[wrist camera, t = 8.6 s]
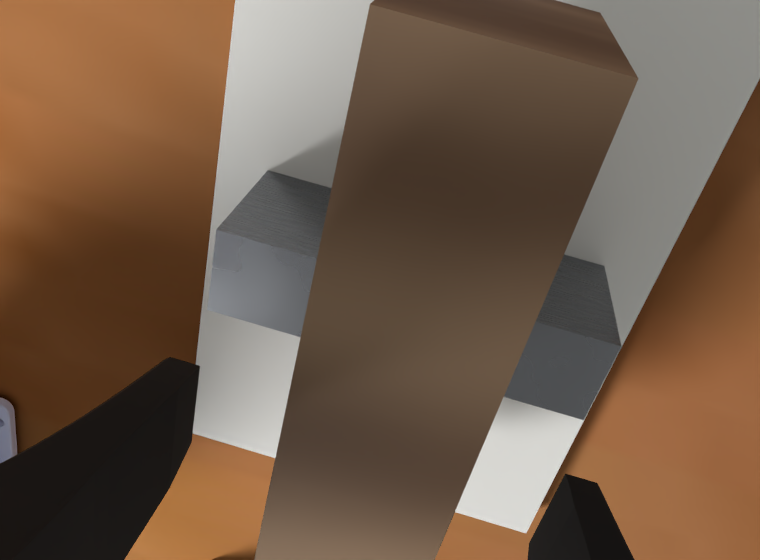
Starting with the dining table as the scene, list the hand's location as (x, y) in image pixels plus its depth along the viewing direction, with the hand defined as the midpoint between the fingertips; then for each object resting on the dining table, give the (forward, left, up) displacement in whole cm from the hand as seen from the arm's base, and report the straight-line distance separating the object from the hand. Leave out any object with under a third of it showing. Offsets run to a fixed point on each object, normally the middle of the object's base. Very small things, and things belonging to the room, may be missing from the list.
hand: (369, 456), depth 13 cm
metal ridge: (0, 0, -10) cm, 10 cm away
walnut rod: (0, 0, -4) cm, 5 cm away
